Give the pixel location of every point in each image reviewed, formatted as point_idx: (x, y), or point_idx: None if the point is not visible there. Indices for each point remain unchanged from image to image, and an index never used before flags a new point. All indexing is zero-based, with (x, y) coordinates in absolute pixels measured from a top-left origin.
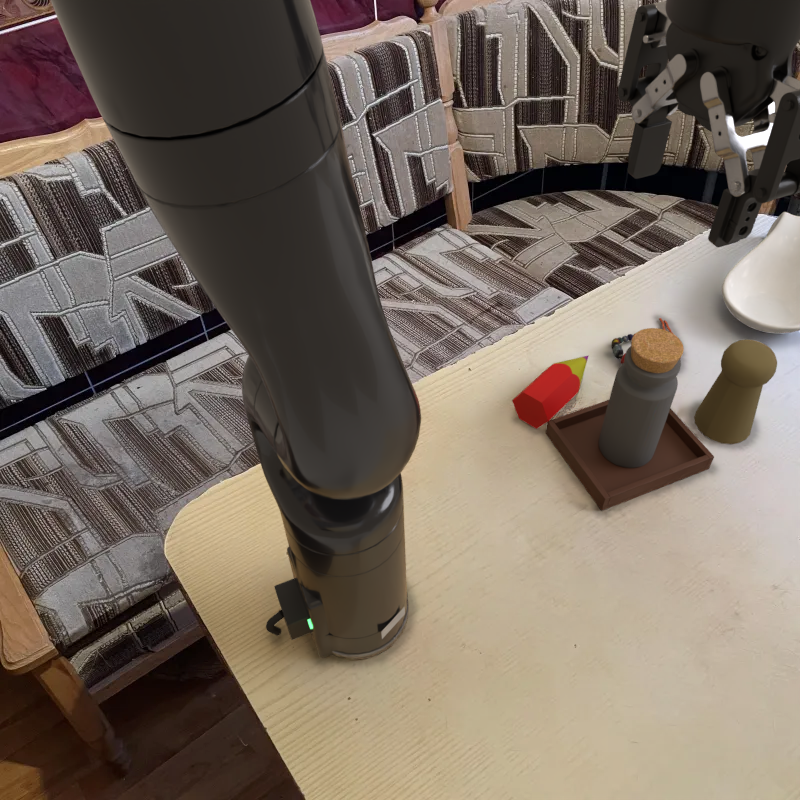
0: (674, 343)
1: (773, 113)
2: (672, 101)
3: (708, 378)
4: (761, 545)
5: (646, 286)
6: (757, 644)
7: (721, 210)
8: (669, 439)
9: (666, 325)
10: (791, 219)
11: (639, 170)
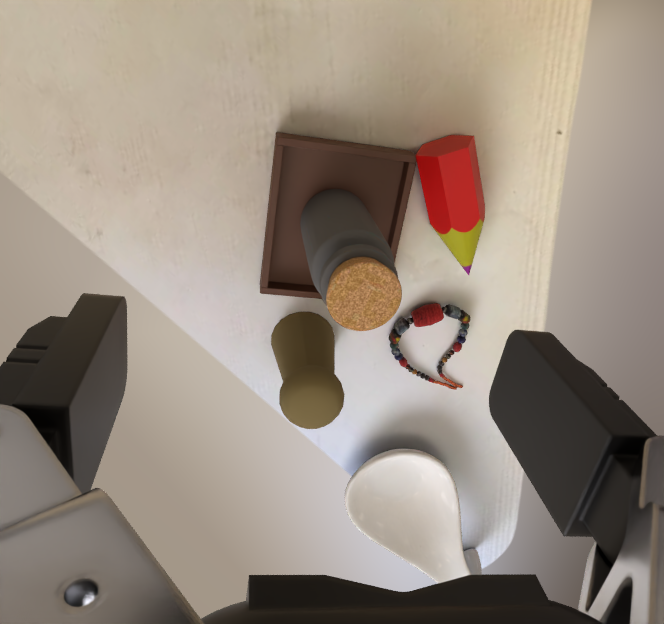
0: (352, 318)
1: None
2: (607, 594)
3: (361, 370)
4: (149, 259)
5: None
6: (45, 163)
7: (66, 355)
8: None
9: (449, 385)
10: None
11: (519, 355)
